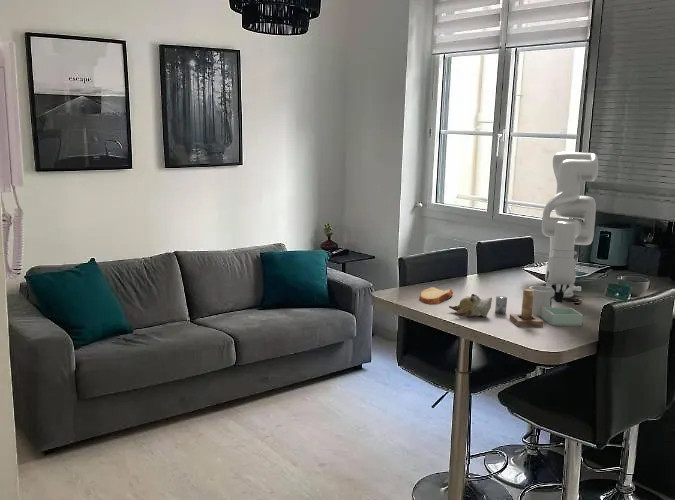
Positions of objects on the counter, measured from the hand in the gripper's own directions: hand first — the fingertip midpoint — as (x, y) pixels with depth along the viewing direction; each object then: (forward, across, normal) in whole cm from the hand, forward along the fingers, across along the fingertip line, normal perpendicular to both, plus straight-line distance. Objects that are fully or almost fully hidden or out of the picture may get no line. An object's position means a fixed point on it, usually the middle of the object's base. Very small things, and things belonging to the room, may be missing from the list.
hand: (558, 301), depth 250 cm
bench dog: (+5, +22, 0) cm, 23 cm away
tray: (+5, +3, +11) cm, 12 cm away
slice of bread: (+5, +41, -22) cm, 47 cm away
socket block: (+5, +17, +13) cm, 22 cm away
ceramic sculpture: (+5, +35, +4) cm, 35 cm away
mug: (+5, +7, -1) cm, 9 cm away
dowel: (+5, +17, +13) cm, 22 cm away
